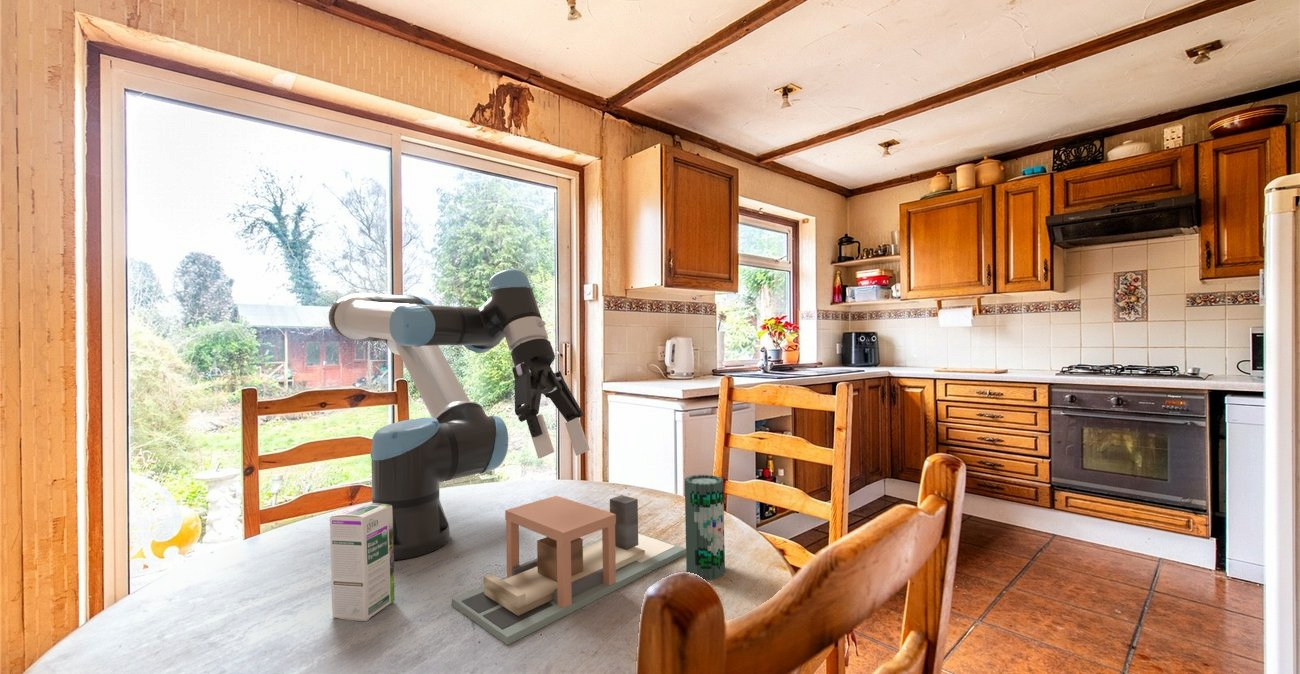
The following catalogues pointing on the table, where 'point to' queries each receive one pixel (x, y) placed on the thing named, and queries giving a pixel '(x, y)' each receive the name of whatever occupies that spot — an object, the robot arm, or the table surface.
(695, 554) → the can
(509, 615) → the track
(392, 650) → the table surface
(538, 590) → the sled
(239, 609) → the table surface
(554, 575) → the block
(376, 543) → the syrup box
